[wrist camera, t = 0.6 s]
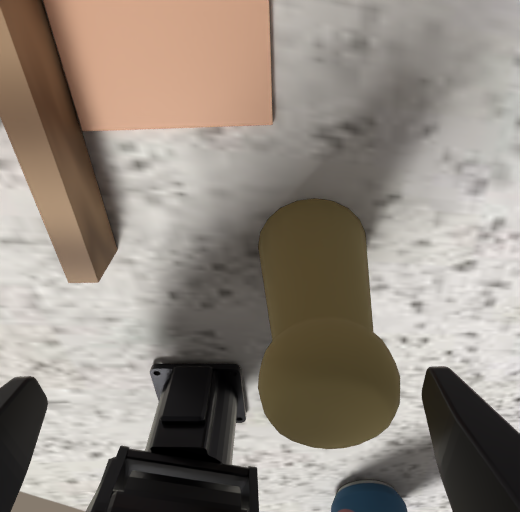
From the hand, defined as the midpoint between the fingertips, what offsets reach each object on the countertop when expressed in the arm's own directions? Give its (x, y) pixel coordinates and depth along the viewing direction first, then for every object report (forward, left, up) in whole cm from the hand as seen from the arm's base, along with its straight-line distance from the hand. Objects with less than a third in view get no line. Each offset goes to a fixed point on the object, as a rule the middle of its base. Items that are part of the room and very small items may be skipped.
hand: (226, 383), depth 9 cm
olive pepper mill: (-5, -3, -13) cm, 15 cm away
